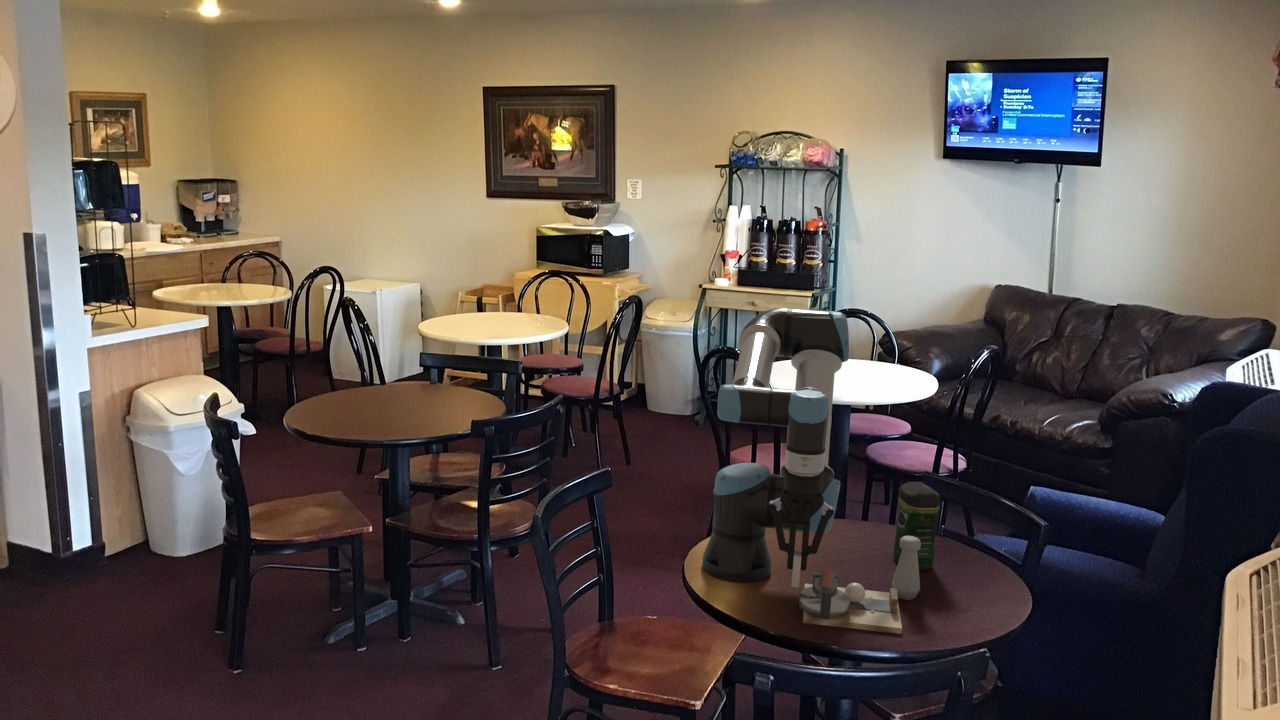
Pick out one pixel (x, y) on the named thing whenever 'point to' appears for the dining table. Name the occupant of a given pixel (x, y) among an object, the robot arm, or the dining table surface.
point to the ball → (855, 592)
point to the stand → (866, 613)
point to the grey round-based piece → (824, 597)
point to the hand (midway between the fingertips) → (795, 584)
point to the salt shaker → (907, 569)
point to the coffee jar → (918, 520)
